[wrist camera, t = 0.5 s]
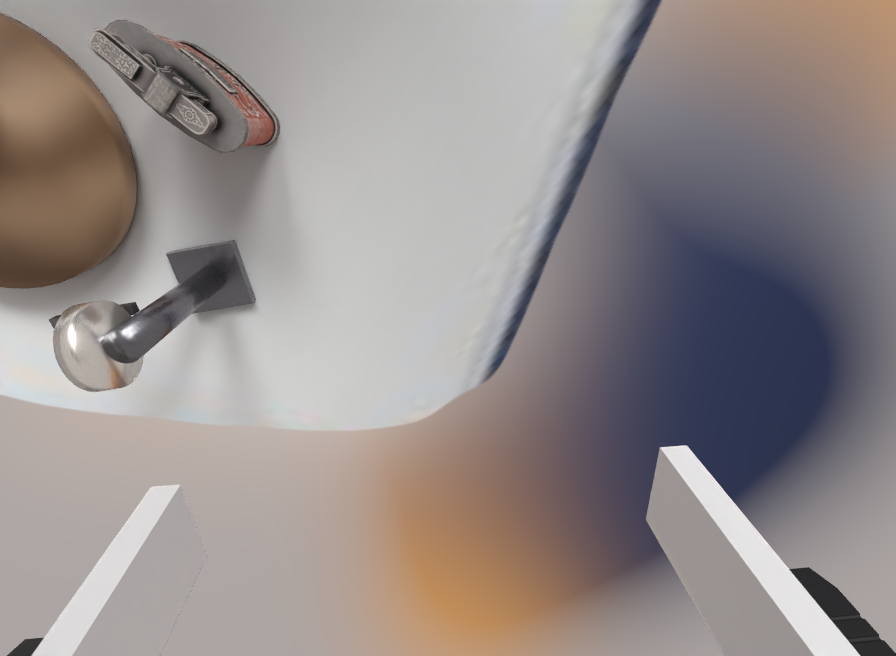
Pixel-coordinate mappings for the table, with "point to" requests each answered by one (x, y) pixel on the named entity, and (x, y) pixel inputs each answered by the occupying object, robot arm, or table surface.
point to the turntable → (57, 165)
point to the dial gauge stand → (145, 318)
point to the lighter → (187, 87)
